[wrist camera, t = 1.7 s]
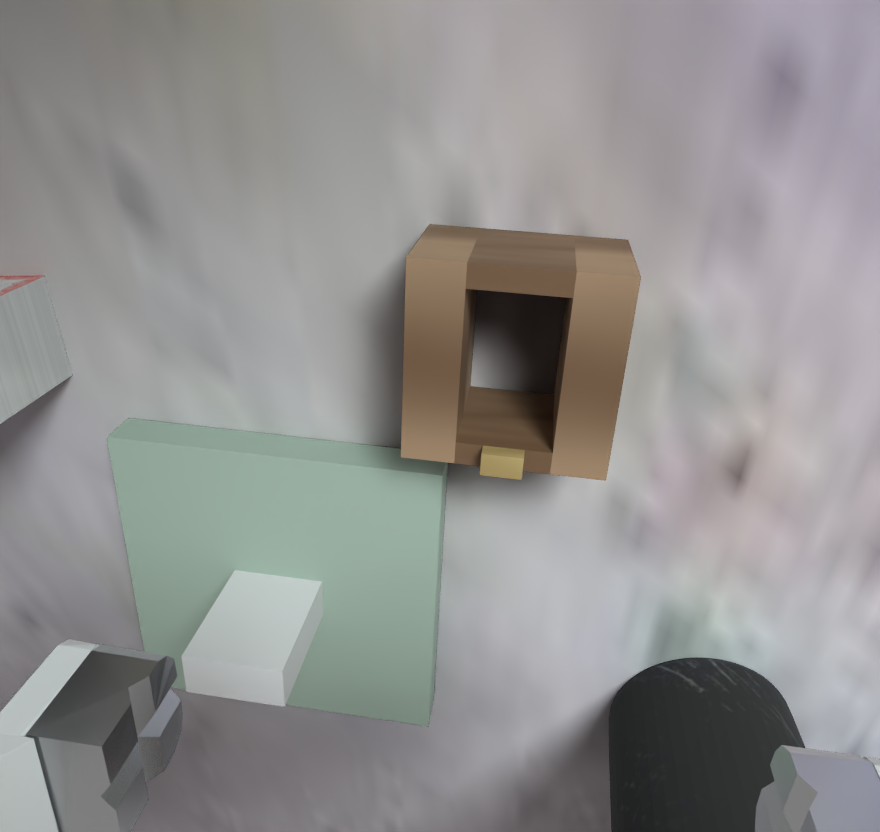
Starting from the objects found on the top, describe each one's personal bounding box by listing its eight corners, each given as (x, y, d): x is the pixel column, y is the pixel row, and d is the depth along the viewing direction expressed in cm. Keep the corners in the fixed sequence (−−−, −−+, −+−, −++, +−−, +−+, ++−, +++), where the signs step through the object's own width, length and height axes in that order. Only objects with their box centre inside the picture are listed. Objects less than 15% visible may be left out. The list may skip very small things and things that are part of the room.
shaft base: (128, 418, 28) (25, 507, 22) (448, 453, 26) (420, 557, 21) (166, 658, 33) (91, 776, 28) (433, 698, 32) (408, 829, 27)
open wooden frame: (429, 224, 23) (402, 262, 19) (628, 239, 22) (643, 282, 18) (422, 400, 26) (397, 465, 22) (599, 418, 25) (606, 489, 21)
